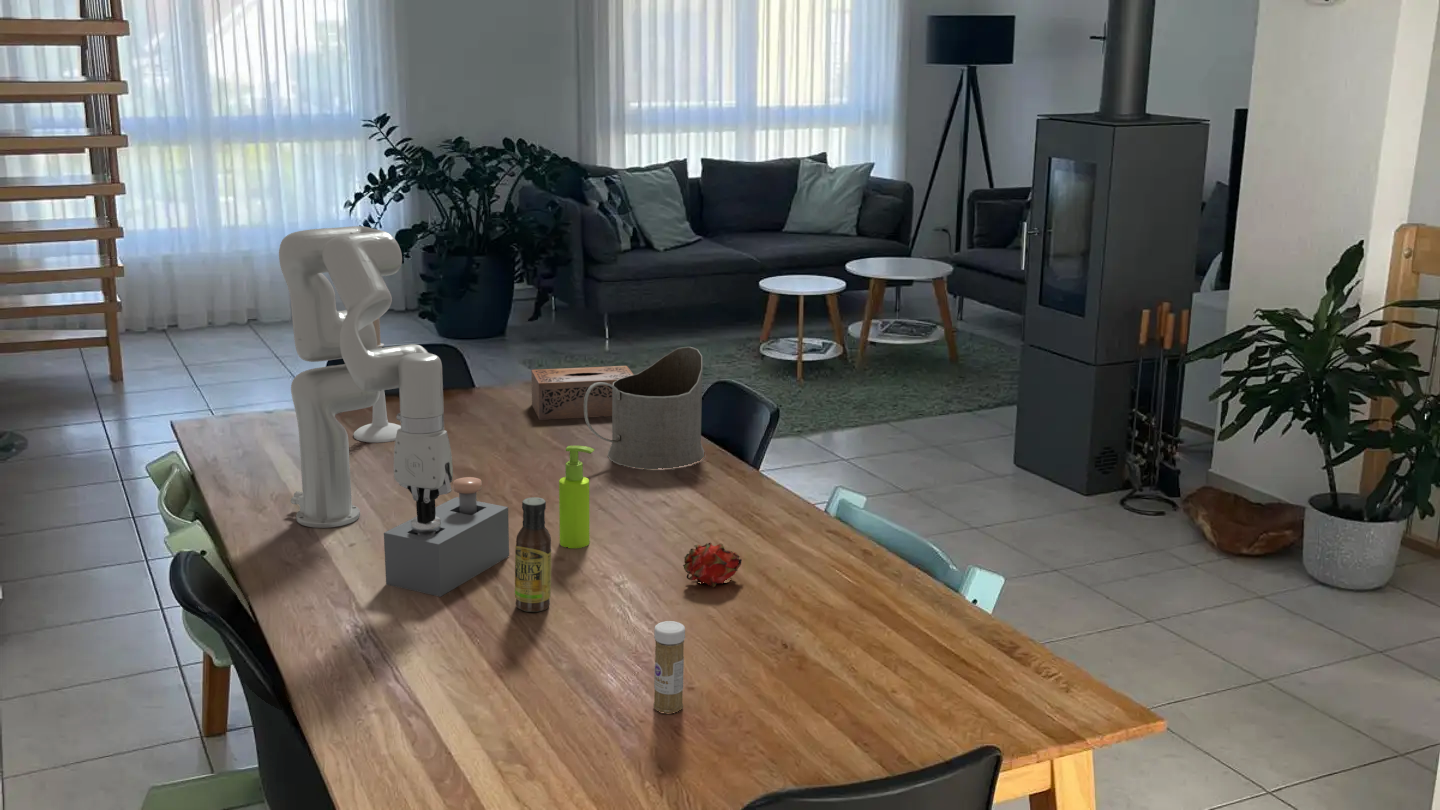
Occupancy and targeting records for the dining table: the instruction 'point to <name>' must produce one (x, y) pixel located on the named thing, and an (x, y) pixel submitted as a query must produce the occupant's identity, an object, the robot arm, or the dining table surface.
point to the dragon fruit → (711, 564)
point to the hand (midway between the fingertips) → (426, 520)
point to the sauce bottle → (533, 558)
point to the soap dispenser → (574, 502)
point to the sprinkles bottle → (669, 666)
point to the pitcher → (657, 413)
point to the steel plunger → (426, 527)
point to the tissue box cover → (574, 391)
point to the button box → (447, 549)
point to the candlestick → (378, 414)
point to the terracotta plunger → (467, 493)
